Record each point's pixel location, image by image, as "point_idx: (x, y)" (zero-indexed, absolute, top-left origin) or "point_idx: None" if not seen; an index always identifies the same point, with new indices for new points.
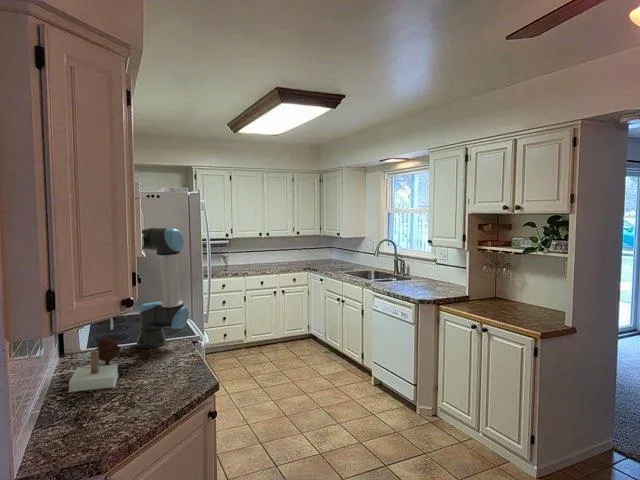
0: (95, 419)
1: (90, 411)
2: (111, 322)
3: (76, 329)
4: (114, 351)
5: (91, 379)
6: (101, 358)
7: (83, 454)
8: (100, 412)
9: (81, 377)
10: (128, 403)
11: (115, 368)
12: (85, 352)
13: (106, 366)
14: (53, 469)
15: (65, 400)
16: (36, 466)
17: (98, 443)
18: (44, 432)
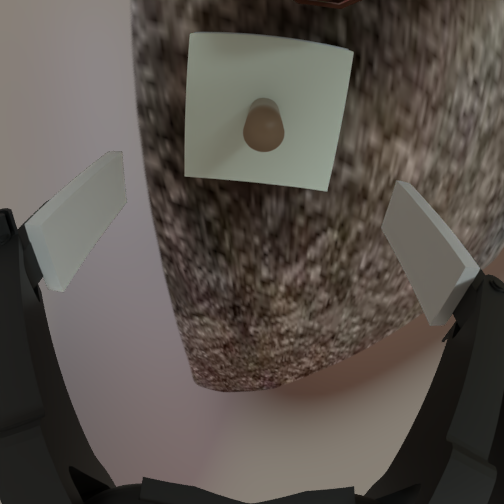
0: (268, 320)
1: (258, 290)
2: (407, 264)
3: (119, 179)
4: (355, 1)
5: (255, 182)
6: None
7: (254, 381)
8: (278, 300)
9: (219, 149)
10: (336, 283)
11: (342, 99)
12: None
13: (309, 56)
14: (226, 389)
15: (193, 212)
16: (207, 381)
17: (271, 371)
18: (191, 328)
